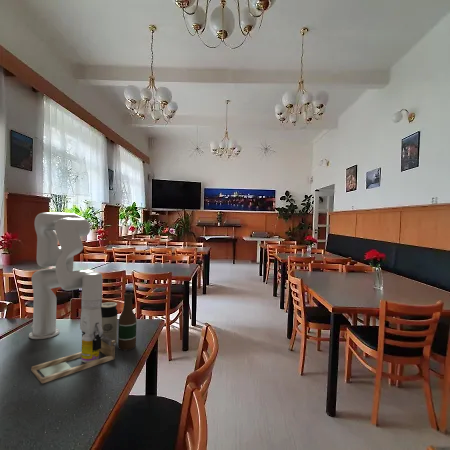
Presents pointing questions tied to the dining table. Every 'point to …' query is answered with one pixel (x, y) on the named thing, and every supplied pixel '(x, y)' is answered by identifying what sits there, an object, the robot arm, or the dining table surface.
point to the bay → (63, 369)
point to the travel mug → (109, 320)
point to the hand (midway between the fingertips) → (91, 345)
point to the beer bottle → (127, 325)
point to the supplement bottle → (88, 349)
